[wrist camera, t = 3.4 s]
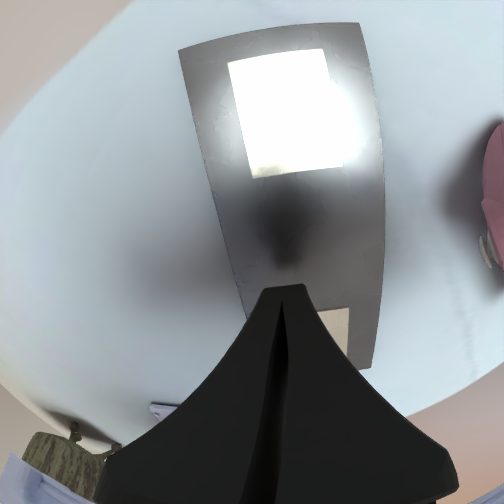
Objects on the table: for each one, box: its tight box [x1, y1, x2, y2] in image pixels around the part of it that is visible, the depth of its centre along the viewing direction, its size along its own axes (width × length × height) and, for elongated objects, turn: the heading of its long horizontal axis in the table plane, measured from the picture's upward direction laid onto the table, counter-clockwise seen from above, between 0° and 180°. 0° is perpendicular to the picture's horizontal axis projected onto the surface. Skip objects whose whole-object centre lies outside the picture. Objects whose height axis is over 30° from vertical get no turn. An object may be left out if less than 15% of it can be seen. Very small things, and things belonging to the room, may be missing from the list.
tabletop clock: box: [22, 422, 122, 504], centre depth 17 cm, size 14×9×25 cm, turn 111°
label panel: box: [178, 23, 385, 370], centre depth 10 cm, size 16×6×1 cm, turn 12°
